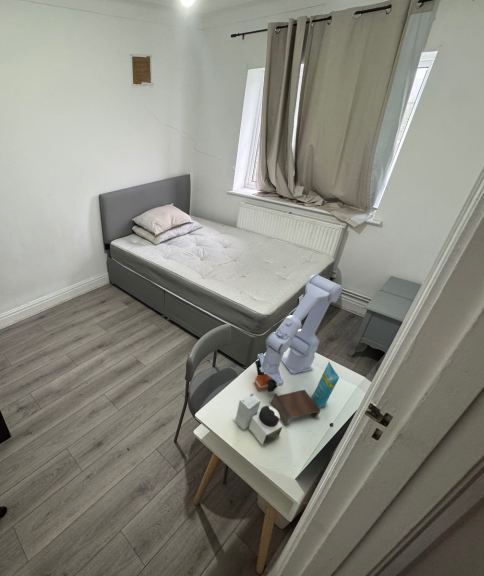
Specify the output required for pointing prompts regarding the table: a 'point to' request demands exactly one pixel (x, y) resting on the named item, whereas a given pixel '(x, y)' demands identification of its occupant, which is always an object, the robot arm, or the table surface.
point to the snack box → (262, 382)
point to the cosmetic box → (247, 410)
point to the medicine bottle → (266, 425)
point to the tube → (325, 386)
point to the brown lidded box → (294, 405)
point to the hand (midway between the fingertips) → (265, 383)
